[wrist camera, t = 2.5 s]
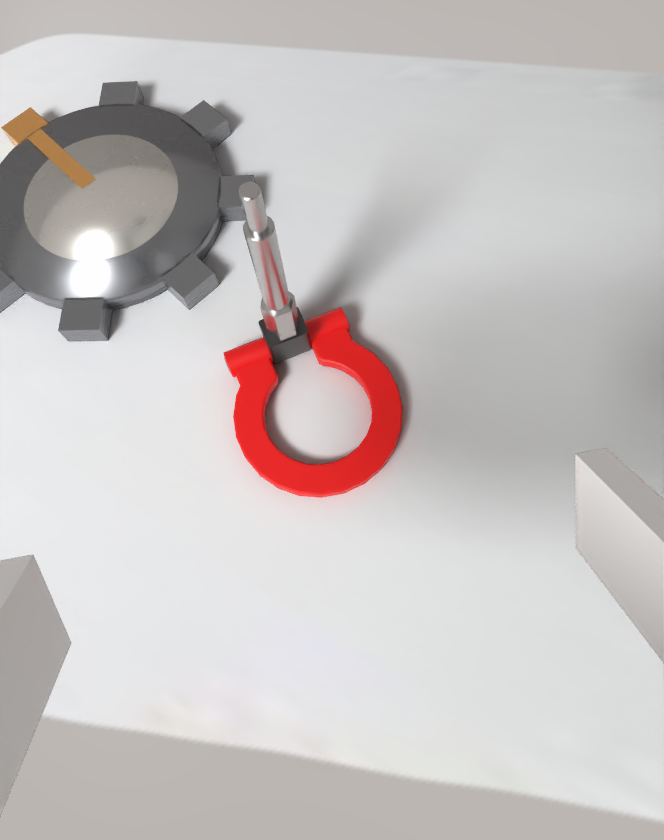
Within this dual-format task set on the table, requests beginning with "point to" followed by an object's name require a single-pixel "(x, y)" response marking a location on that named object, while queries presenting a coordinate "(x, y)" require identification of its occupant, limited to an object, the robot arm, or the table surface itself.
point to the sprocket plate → (112, 208)
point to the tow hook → (332, 349)
